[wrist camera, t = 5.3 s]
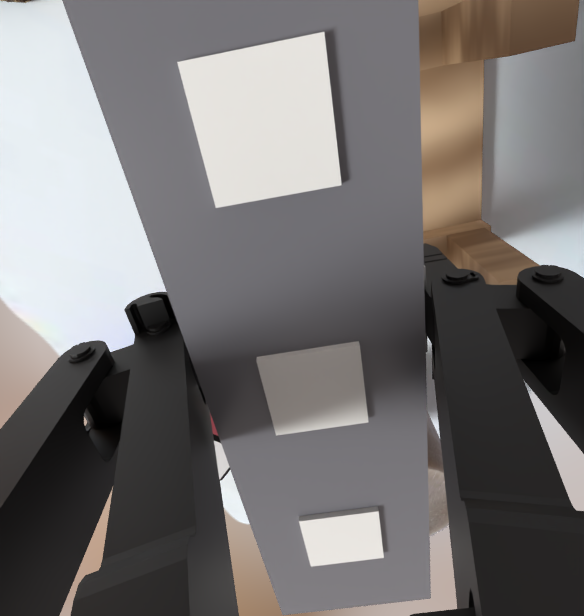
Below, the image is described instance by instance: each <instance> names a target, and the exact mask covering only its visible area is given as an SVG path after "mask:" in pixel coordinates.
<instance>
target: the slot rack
mask: <svg viewBox="0 0 584 616" xmlns="http://www.w3.org/2000/svg"><path fill="white" fill-rule="evenodd" d="M418 8H419V56H420V105H421V153H422V202H423V244H424V243H426V244H429V245H432V246H435V247H437V248H438V249H439V250H440V251H441V252H442V253H443V254H444V255H445V256H446V257H447V259H449V260H450V261H451V262H452V263H453V264H454V265H455V266H456V267H457V268H458V269H468V270H473V271H476V272H478V273H480V274H481V275H482V276H483V277H484V280H485V282H486V284H489V285H517V276H518V274H519V272H520V271H522V270H524V269H526V268H530V267H535V266H540V265H538V264H537V263H536V262H534V261H533V260H531V259H530V258H528V257H527V256H525V255H524V254H522V253H521V252H520V251H518V250H517V249H515V248H514V247H512V246H511V245H509V244H508V243H506V242H505V241H504V240H502V239H501V238H499V237H498V236H496V235H495V234H493V233H492V232H491V226H490V225H488V224H487V223H485V222H484V221H482V220H481V204H482V148H483V92H484V60H486V59H493V58H500V57H507V56H512V55H517V54H521V53H525V52H529V51H534V50H538V49H542V48H547V47H551V46H555V45H559V44H564V43H568V42H572V41H575V36H576V27H577V18H578V8H579V0H418Z"/></svg>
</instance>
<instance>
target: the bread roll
mask: <svg viewBox="0 0 584 616" xmlns="http://www.w3.org/2000/svg"><path fill="white" fill-rule="evenodd" d="M1 1H7V2H23V3H26V2H29V1H32V0H1Z"/></svg>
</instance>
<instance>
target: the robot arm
mask: <svg viewBox="0 0 584 616" xmlns="http://www.w3.org/2000/svg"><path fill="white" fill-rule="evenodd" d="M423 250H424V299H425V347H426V352H427V336H428V338H429V340H430V341H431V343H432V379H434V381H435V391H436V401H437V411H438V420H439V430H440V440H441V450H442V460H443V470H444V479H445V489H446V499H447V509H448V519H449V529H450V539H451V548H452V558H453V568H454V578H455V588H456V597H457V609H454V610H446V611H437V612H428V613H419V614H413V615H410V616H584V511H576V510H575V509H574V508H573V506H572V504H571V502H570V500H569V497H568V494H567V492H566V489H565V487H564V484H563V482H562V479H561V477H560V474H559V471H558V469H557V466H556V464H555V461H554V458H553V456H552V453H551V450H550V448H549V445H548V443H547V440H546V438H545V435H544V432H543V430H542V427H541V425H540V422H539V419H538V417H537V414H536V412H535V409H534V406H533V404H532V401H531V399H530V396H529V393H528V391H527V388H526V386H525V383H524V381H523V379H524V380H525V382H526V383H527V384H528V385H529V387H530V388H531V389H532V390H533V392H534V393H535V394H536V395H537V396H538V398H539V399H540V400H541V401H542V403H543V404H544V405H545V406H546V407H547V409H548V410H549V411H550V413H551V414H552V415H553V416H554V418H555V419H556V420H557V421H558V423H559V424H560V425H561V426H562V427H563V429H564V430H565V431H566V432H567V434H568V435H569V436H570V437H571V439H572V440H573V441H574V442H575V444H576V445H577V446H578V447H579V448H580V450H581V451H582V452H583V453H584V278H583V277H581V276H580V275H578V274H577V273H575V272H573V271H570V270H568V269H565V268H561V267H558V266H554V265H550V266H549V265H541V266H535V267H530V268H526V269H524V270H522V271H520V272H519V274H518V276H517V285H489V284H486V282H485V280H484V277H483V276H482V275H481V274H480V273H478V272H476V271H473V270H468V269H458V268H457V267H456V266H455V265H454V264H453V263H452V262H451V261H450V260H449V259H447V257H446V256H445V255H444V254H443V253H442V252H441V251H440V250H439V249H438V248H437V247H435V246H432V245H429V244H426V243H424V244H423ZM125 312H126V314H127V317H128V319H129V322H130V324H131V326H132V329H133V331H134V333H135V341H134V344H133V345H131V346H128V347H125V348H122V349H119V350H116V351H113V352H110V351H109V349H108V347H107V345H106V343H105V342H103V341H90V342H86V343H85V342H83V343H80V344H79V345H75V346H73V347H72V348H71V349H70V350H68V351H67V352H65V353H64V354H63V355H62V356H60V357H59V358H58V360H57V361H56V362H55V363H54V364H53V366H52V367H51V368H50V369H49V371H48V372H47V373H46V374H45V375H44V377H43V378H42V379H41V380H40V381H39V383H38V384H37V385H36V386H35V388H34V389H33V390H32V391H31V392H30V394H29V395H28V396H27V397H26V399H25V400H24V401H23V402H22V404H21V405H20V406H19V407H18V408H17V410H16V411H15V412H14V413H13V415H12V416H11V417H10V418H9V419H8V421H7V422H6V423H5V424H4V425H3V427H2V428H1V429H0V616H59V615H60V612H61V610H62V608H63V605H64V603H65V600H66V598H67V595H68V593H69V591H70V588H71V586H72V583H73V581H74V579H75V576H76V574H77V571H78V569H79V566H80V564H81V562H82V560H83V557H84V555H85V552H86V550H87V547H88V545H89V543H90V540H91V538H92V535H93V533H94V530H95V528H96V526H97V523H98V521H99V519H100V516H101V514H102V511H103V509H104V506H105V504H106V501H107V499H108V497H109V494H110V492H111V490H112V487H113V492H112V498H111V505H110V512H109V518H108V525H107V533H106V540H105V546H104V553H103V560H102V563H101V567H100V569H99V571H96V572H93V573H91V574H88V575H86V576H85V577H84V578H83V579H82V581H81V582H80V583H79V585H78V588H77V591H76V595H75V598H74V601H73V607H72V611H71V616H239V613H238V606H237V599H236V593H235V585H234V580H233V579H234V578H233V571H232V565H231V557H230V550H229V543H228V536H227V529H226V522H225V515H224V508H223V501H222V494H221V487H220V480H219V473H218V466H217V459H216V452H215V445H214V438H213V431H212V424H211V417H210V411H209V408H208V405H207V402H206V400H205V397H204V394H203V391H202V389H201V386H200V383H199V380H198V377H197V375H196V372H195V369H194V366H193V363H192V361H191V358H190V355H189V352H188V349H187V347H186V344H185V341H184V338H183V336H182V333H181V330H180V327H179V324H178V322H177V319H176V316H175V313H174V310H173V308H172V305H171V302H170V299H169V296H168V294H167V292H156V293H151V294H148V295H145V296H142V297H140V298H138V299H136V300H134V301H132V302H131V303H130V304H128V305H127V306H126V308H125ZM84 417H85V418H86V420H87V424H86V426H84Z"/></svg>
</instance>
